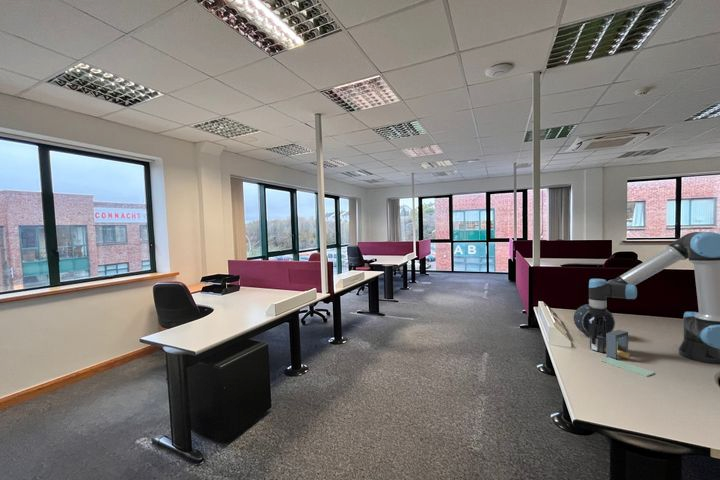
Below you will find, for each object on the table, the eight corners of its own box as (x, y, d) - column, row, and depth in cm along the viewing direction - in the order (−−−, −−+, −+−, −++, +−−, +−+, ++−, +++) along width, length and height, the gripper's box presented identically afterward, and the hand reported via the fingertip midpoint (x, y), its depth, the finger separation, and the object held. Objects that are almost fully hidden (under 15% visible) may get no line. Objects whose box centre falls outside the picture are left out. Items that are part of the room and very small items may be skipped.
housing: (618, 352, 156) (618, 329, 156) (628, 355, 152) (628, 332, 152) (606, 356, 151) (606, 333, 151) (615, 359, 148) (615, 335, 147)
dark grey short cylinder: (617, 340, 174) (617, 307, 173) (580, 338, 178) (580, 306, 177) (606, 334, 184) (606, 303, 184) (571, 332, 188) (571, 302, 188)
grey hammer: (595, 346, 163) (595, 334, 163) (630, 357, 148) (630, 344, 148) (589, 348, 161) (589, 336, 161) (625, 359, 146) (625, 346, 146)
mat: (608, 358, 149) (608, 357, 149) (654, 373, 133) (654, 372, 133) (600, 361, 147) (600, 359, 147) (646, 376, 130) (646, 375, 130)
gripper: (599, 303, 166) (599, 343, 167) (580, 307, 159) (580, 349, 160) (615, 306, 160) (615, 348, 160) (595, 310, 152) (595, 354, 153)
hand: (597, 348), depth 160 cm, fingers closed on grey hammer, 5 cm apart
